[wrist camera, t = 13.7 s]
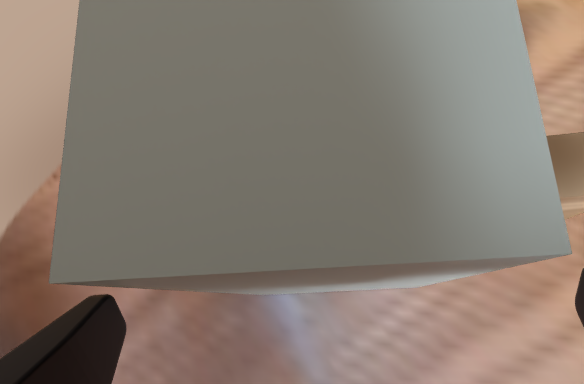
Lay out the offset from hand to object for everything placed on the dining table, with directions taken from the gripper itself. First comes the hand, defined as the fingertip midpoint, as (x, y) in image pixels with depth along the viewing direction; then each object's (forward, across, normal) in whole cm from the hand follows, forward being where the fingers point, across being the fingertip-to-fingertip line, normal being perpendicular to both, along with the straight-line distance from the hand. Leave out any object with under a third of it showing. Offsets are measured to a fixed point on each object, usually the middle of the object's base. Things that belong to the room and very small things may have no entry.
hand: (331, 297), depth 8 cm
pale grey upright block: (+9, 0, +4) cm, 10 cm away
